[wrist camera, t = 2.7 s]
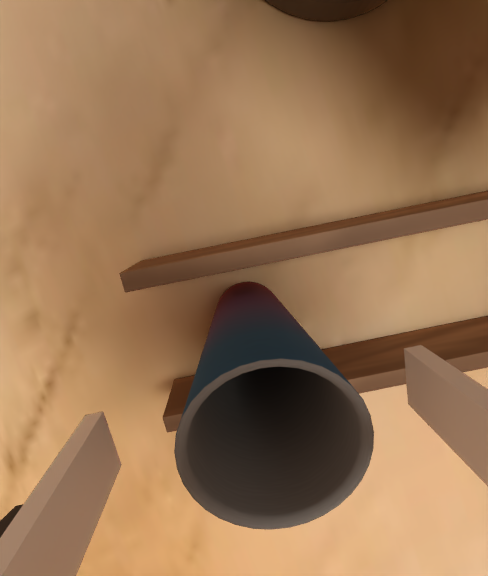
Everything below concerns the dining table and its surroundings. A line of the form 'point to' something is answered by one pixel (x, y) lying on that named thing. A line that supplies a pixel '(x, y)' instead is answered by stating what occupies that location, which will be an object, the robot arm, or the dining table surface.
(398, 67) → the dining table surface
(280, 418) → the cup
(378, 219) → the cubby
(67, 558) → the robot arm
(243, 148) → the dining table surface
